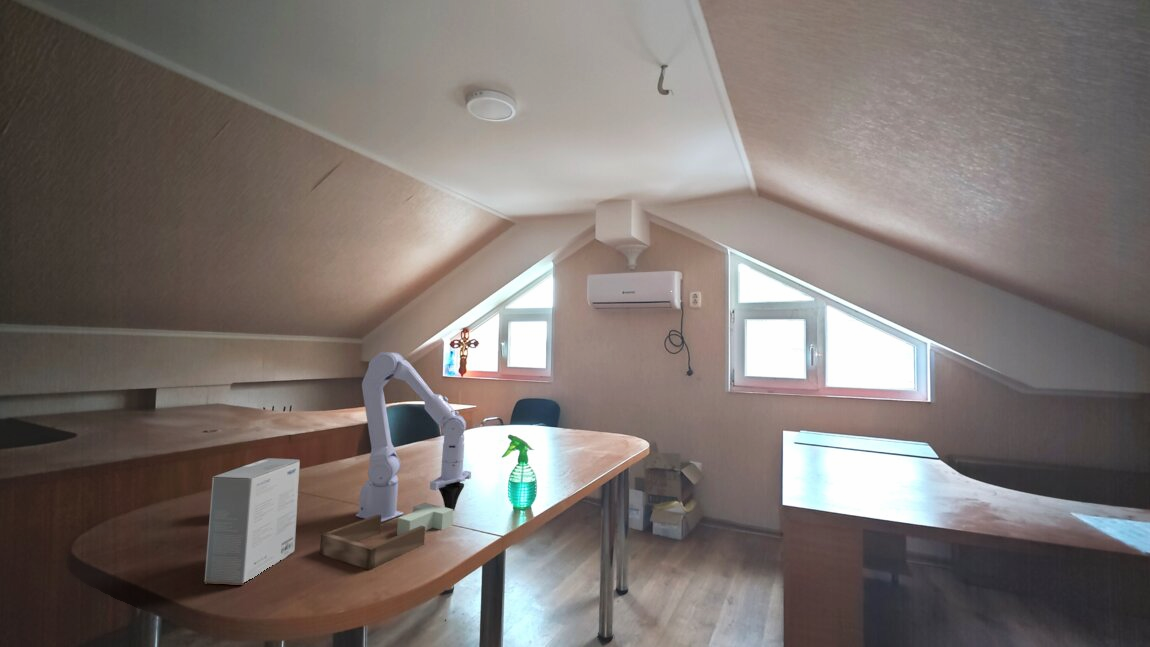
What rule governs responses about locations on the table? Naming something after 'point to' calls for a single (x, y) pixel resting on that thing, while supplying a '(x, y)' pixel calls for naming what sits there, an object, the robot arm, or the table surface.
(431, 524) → the t block
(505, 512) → the table surface
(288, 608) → the table surface
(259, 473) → the hard drive box
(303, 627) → the table surface
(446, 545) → the table surface
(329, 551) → the wooden tray
